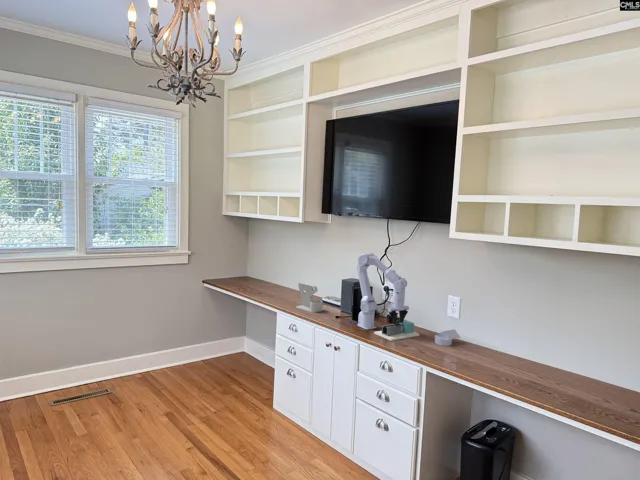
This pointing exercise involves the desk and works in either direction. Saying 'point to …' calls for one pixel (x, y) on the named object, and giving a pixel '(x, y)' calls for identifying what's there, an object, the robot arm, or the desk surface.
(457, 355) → the desk surface
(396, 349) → the desk surface
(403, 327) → the bar
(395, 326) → the grey rail guide
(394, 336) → the base board
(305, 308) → the phone holder
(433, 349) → the desk surface
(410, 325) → the socket
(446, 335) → the wedge on round base
